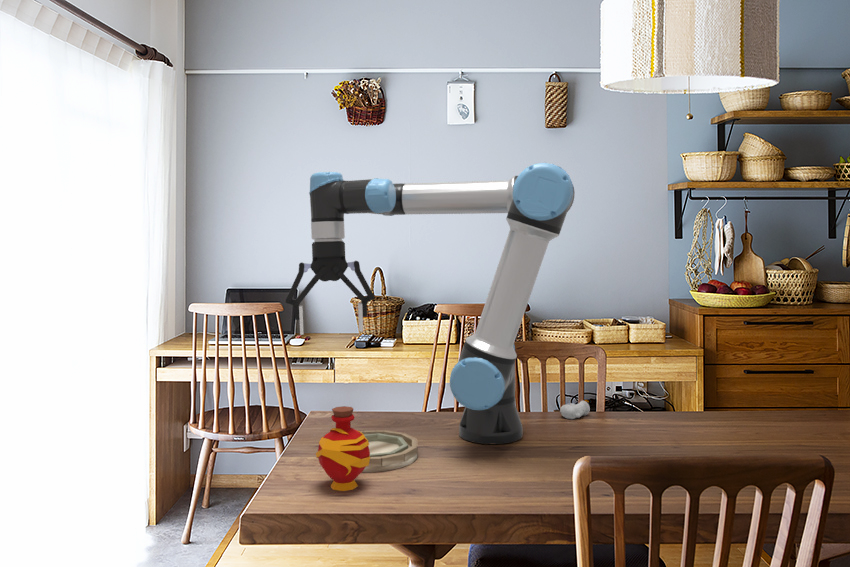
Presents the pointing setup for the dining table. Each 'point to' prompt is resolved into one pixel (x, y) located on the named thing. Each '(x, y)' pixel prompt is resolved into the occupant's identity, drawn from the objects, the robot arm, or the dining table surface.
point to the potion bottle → (343, 451)
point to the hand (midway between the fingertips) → (331, 332)
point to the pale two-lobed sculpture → (575, 410)
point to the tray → (389, 450)
